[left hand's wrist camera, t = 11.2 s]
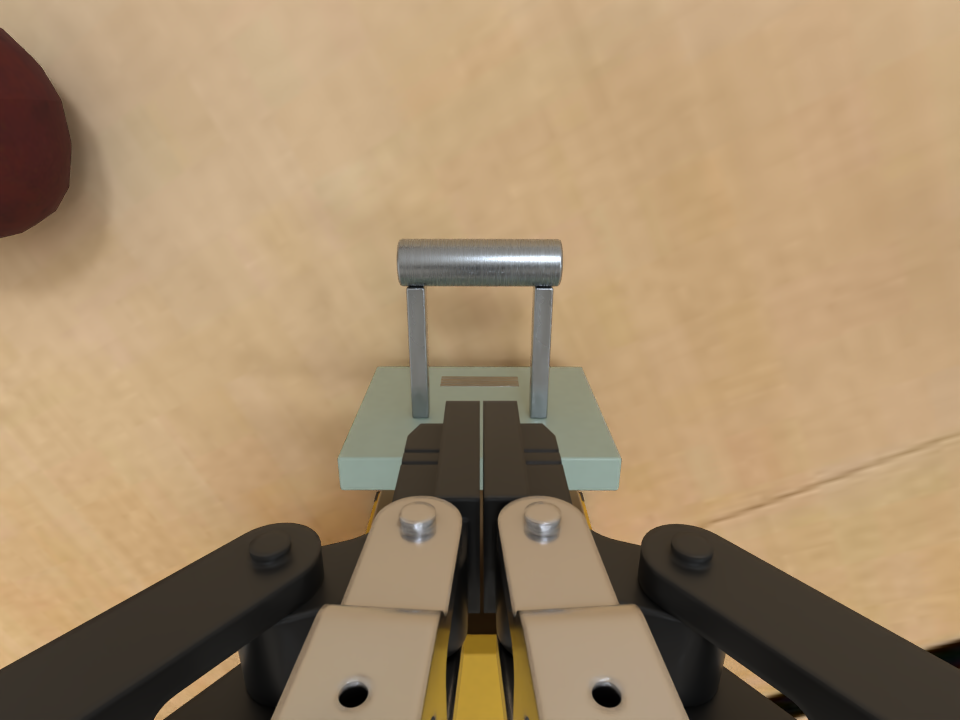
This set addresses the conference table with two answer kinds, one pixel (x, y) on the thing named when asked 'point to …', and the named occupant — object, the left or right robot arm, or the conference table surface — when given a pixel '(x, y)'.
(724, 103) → the conference table surface
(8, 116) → the dark maroon ball
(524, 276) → the drawer
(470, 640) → the cabinet
